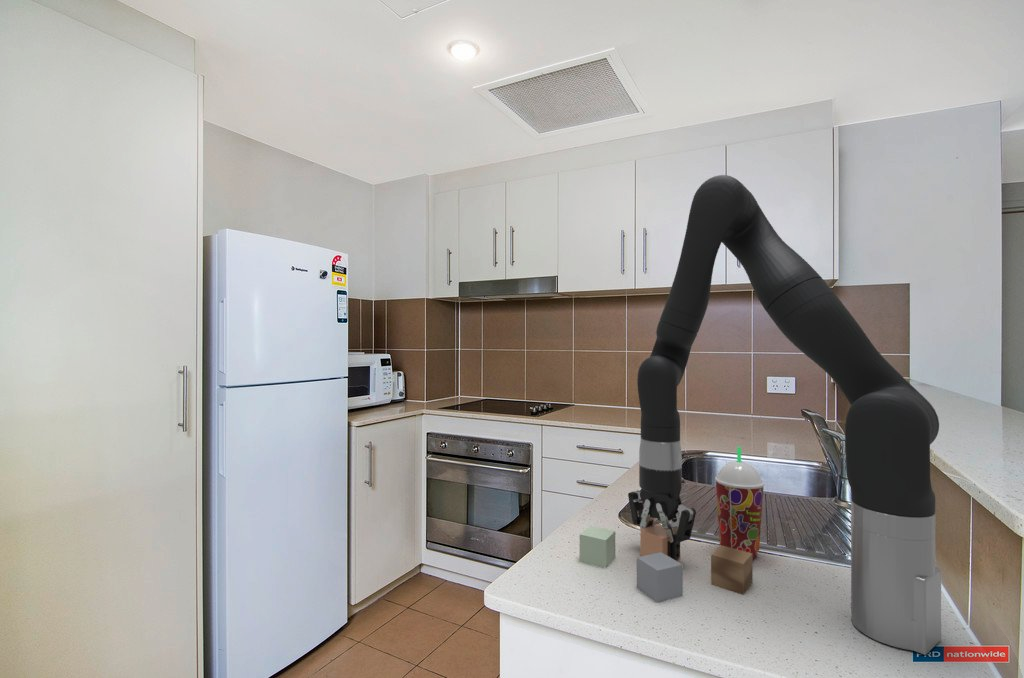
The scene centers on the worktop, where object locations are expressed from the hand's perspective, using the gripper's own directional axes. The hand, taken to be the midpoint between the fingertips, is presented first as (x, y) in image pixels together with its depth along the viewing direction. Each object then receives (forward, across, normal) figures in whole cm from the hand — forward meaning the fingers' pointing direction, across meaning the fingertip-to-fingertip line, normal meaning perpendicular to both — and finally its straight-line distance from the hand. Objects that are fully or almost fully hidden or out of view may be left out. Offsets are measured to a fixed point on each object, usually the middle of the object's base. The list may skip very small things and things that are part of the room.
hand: (660, 555), depth 91 cm
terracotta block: (0, 0, 0) cm, 0 cm away
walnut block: (+1, -13, -2) cm, 13 cm away
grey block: (+1, -8, +10) cm, 13 cm away
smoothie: (+1, -7, -14) cm, 16 cm away
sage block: (+1, +6, +10) cm, 12 cm away
